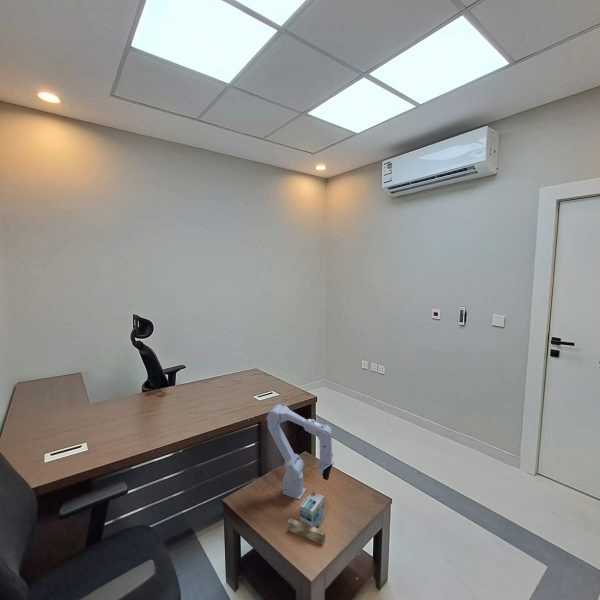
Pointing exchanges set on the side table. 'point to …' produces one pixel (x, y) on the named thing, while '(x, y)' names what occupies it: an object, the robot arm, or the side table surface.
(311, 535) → the metal block
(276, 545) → the side table surface
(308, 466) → the side table surface
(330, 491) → the side table surface
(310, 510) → the light bulb box
